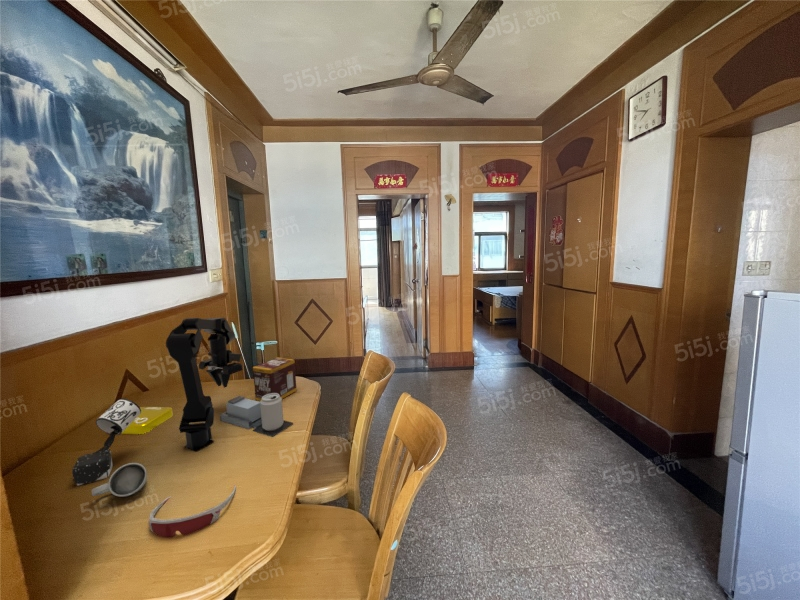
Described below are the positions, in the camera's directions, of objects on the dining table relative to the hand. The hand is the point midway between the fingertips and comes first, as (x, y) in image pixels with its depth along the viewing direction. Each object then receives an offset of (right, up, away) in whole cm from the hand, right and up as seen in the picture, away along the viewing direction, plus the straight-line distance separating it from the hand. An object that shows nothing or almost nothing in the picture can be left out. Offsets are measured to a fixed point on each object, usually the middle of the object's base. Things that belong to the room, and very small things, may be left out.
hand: (222, 386), depth 131 cm
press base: (+16, -13, -6) cm, 21 cm away
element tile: (-28, -14, -5) cm, 32 cm away
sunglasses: (+20, -20, -50) cm, 58 cm away
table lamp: (-16, -17, -31) cm, 39 cm away
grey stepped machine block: (+11, -11, -3) cm, 16 cm away
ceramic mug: (-2, -19, -44) cm, 48 cm away
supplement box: (+15, -9, +19) cm, 26 cm away
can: (+24, -13, -10) cm, 29 cm away
